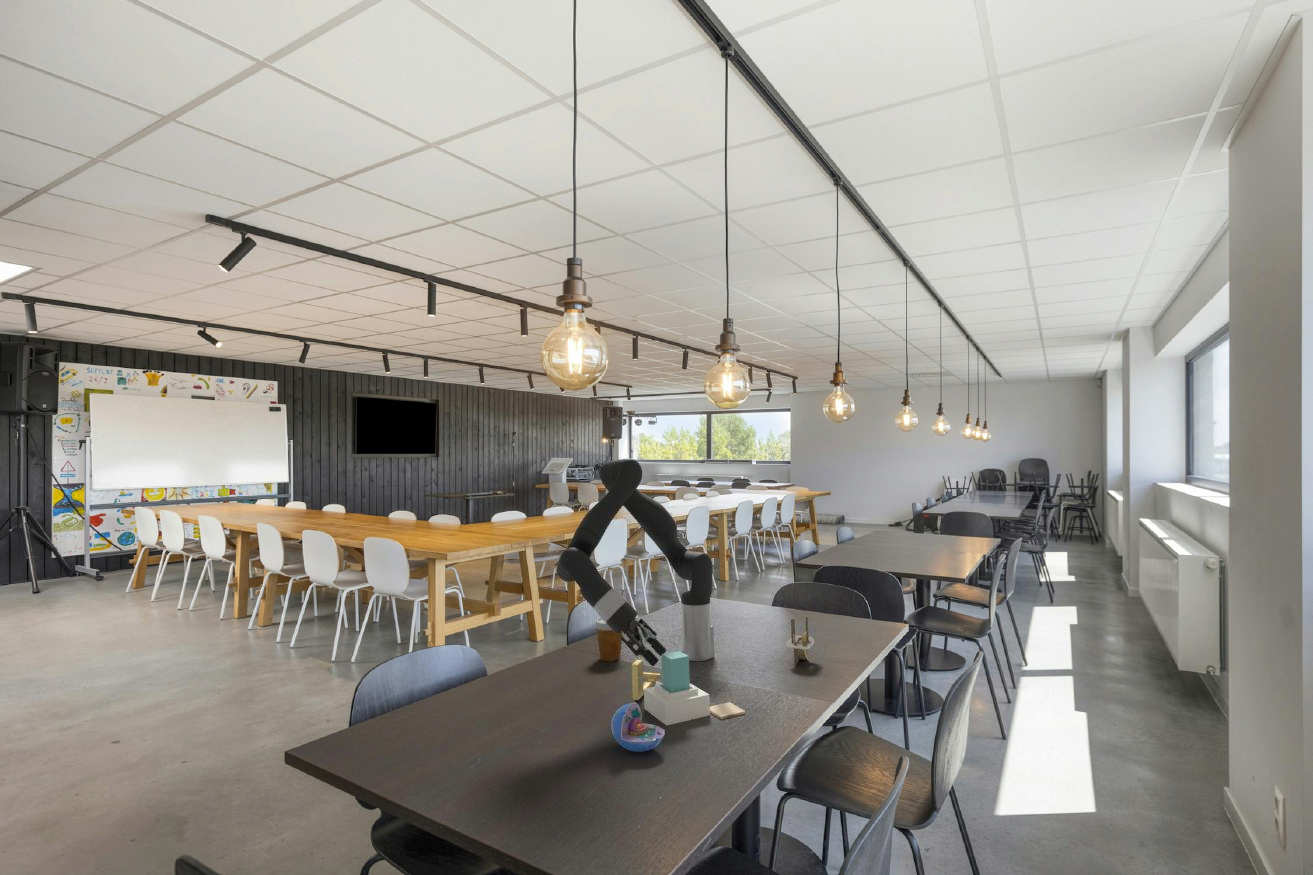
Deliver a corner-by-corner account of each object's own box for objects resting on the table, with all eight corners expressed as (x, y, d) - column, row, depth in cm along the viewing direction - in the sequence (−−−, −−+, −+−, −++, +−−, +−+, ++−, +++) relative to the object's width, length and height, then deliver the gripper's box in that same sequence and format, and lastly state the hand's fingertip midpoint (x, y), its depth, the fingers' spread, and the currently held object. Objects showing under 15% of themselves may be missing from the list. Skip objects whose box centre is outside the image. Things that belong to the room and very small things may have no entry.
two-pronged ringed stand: (841, 655, 204) (840, 610, 205) (830, 680, 181) (829, 630, 182) (776, 649, 212) (774, 606, 213) (757, 673, 189) (756, 624, 190)
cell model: (653, 763, 133) (652, 716, 133) (603, 754, 138) (602, 708, 138) (673, 744, 142) (672, 700, 142) (625, 735, 147) (624, 693, 147)
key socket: (656, 680, 183) (656, 679, 183) (666, 687, 178) (666, 685, 178) (637, 684, 181) (637, 683, 181) (646, 691, 175) (646, 689, 175)
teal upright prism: (680, 686, 164) (679, 650, 164) (689, 692, 159) (688, 655, 160) (662, 690, 161) (661, 653, 162) (672, 696, 157) (671, 659, 157)
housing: (685, 699, 168) (685, 675, 168) (710, 715, 158) (709, 689, 158) (644, 708, 163) (643, 683, 163) (666, 725, 152) (665, 698, 152)
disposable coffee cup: (627, 653, 210) (626, 616, 211) (622, 662, 201) (621, 623, 201) (598, 653, 211) (597, 616, 212) (592, 662, 202) (591, 623, 202)
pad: (729, 704, 164) (729, 701, 164) (745, 713, 158) (745, 711, 158) (706, 709, 161) (706, 707, 161) (721, 719, 155) (721, 716, 155)
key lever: (644, 681, 181) (644, 648, 182) (661, 682, 180) (660, 649, 180) (626, 699, 168) (625, 663, 168) (644, 701, 166) (643, 665, 167)
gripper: (616, 606, 157) (663, 656, 154) (632, 594, 171) (676, 640, 168) (596, 628, 158) (642, 677, 155) (613, 614, 172) (656, 659, 169)
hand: (660, 658), depth 162 cm, fingers open, 8 cm apart
